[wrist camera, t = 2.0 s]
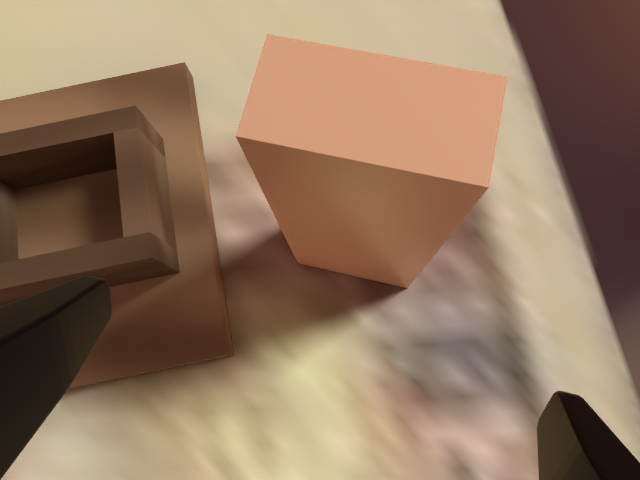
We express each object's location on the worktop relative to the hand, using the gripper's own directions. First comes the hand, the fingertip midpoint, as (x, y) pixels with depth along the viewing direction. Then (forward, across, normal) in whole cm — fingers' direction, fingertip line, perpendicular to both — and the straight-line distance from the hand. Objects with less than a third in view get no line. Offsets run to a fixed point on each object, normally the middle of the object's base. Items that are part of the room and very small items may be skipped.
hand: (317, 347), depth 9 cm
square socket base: (+10, +12, +6) cm, 17 cm away
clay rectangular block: (+12, 0, +5) cm, 12 cm away
